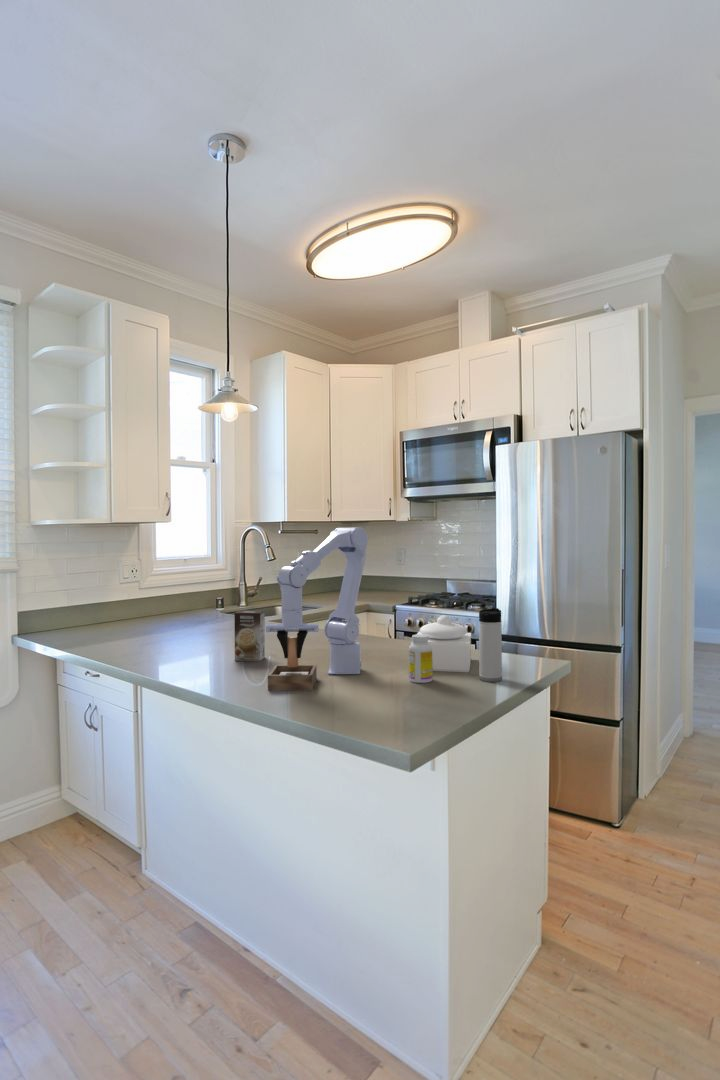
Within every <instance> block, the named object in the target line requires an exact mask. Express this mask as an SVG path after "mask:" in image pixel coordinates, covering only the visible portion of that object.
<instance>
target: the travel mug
mask: <svg viewBox="0 0 720 1080" xmlns="http://www.w3.org/2000/svg"><path fill="white" fill-rule="evenodd" d="M502 633H503V632H502V610H501V609H499V608H497V607H492V608H487V609H486V608H485V609H482V610H479V611H478V654H479V656H478V658H479V660H478V661H479V662H478V665H479V666H478V667H479V669H478V673H479V674H478V675H479V677H478V679H479V680H480V681H483V682H487V683H498V682H497V681H499V682H501V681H502V680H503V673H502V672H503V670H502V669H503V667H502V665H503V662H502V661H503V657H502V655H503V653H502V648H503V647H502V646H503V645H502V644H503V643H502V642H503V641H502Z"/></svg>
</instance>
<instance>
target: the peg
mask: <svg viewBox="0 0 720 1080" xmlns="http://www.w3.org/2000/svg"><path fill="white" fill-rule="evenodd" d="M297 651H298V641H297V636H288V637H287V658H286V661H287V662H286V663H287V664H286V665H287V667H298V665H299V658H297Z"/></svg>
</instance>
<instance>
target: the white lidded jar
mask: <svg viewBox="0 0 720 1080" xmlns="http://www.w3.org/2000/svg"><path fill="white" fill-rule="evenodd" d="M416 634H424V635H428V636H429V640H428V644H430V645H431V646H432V665H433V672H456V673H469V672H470V670H471V662H472V654H471V653H472V639H471V638H472V632H468V630H467V627H466V626H463V625H462V624H459V623H455V622H452V619H451V618H450V616H448V615H445V614H443V615H440V616H439V617H437V619H436V622H435V621H434V622H430V623H427V624H424V625H422V626H421V627H420V628H419V631H417V633H416ZM411 644H413V641H411V643H410V645H411Z"/></svg>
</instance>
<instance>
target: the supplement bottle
mask: <svg viewBox="0 0 720 1080" xmlns="http://www.w3.org/2000/svg"><path fill="white" fill-rule="evenodd" d="M411 640H412V641H413V644H411V643H410V645H409V647H408V678H409V681H410V682H411V683H417V684H428V683H430V682H432V681H433V677H434V676H433V672H434V671H433V665H432V646H431V645H430V644H428V640H429V636H428V635H424V634H417V633H415V634H412V636H411ZM412 641H411V642H412Z"/></svg>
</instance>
